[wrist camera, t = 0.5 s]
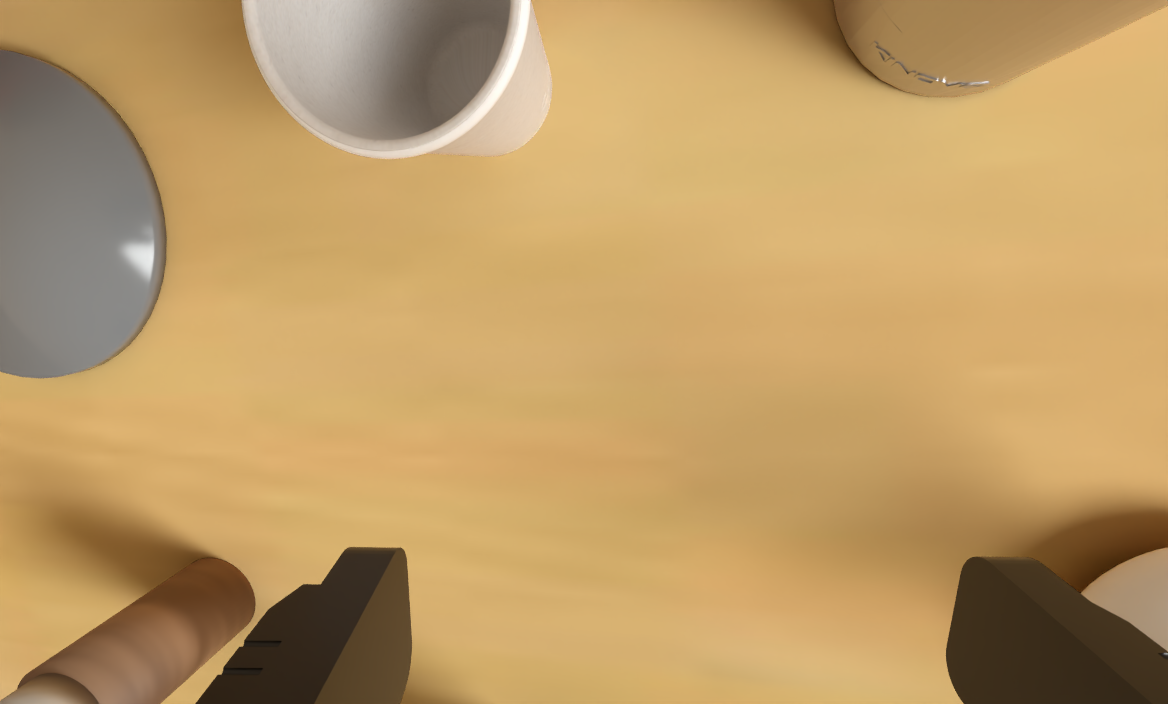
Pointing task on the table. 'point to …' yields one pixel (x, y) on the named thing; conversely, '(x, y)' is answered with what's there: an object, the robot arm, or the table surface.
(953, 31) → the robot arm
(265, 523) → the table surface
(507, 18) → the dixie cup
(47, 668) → the pepper mill
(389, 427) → the table surface
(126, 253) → the trivet
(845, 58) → the table surface
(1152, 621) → the flower in vase
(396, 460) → the table surface
